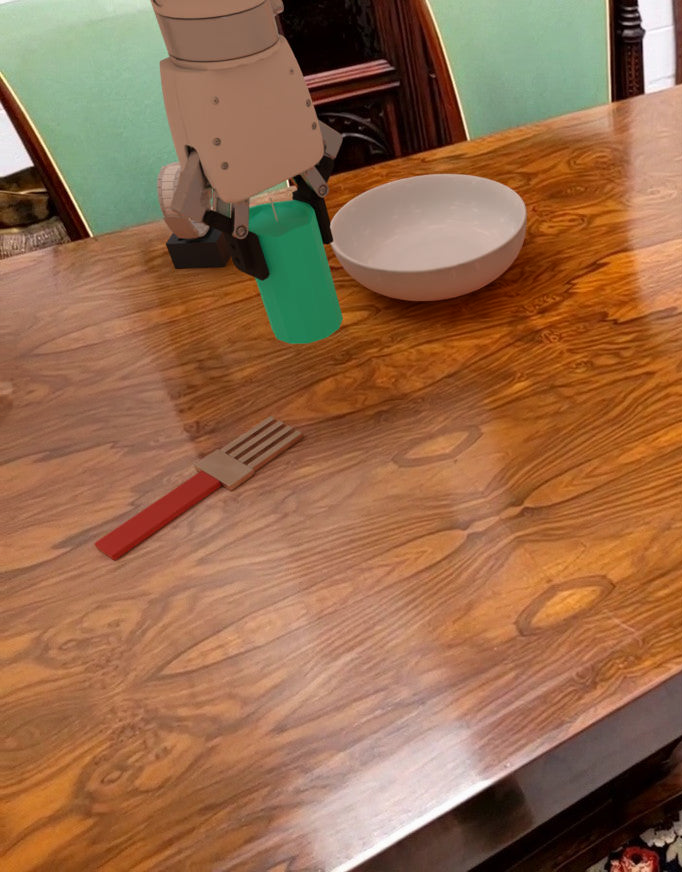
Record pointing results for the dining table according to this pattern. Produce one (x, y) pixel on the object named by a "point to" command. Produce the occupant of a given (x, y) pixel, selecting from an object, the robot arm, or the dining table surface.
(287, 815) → the dining table surface
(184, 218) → the watch
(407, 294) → the serving bowl
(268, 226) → the candle
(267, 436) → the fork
